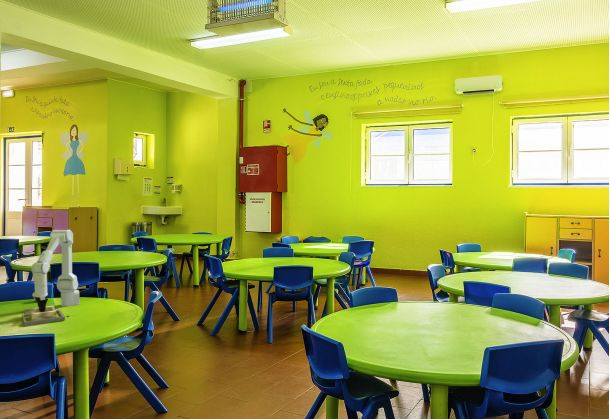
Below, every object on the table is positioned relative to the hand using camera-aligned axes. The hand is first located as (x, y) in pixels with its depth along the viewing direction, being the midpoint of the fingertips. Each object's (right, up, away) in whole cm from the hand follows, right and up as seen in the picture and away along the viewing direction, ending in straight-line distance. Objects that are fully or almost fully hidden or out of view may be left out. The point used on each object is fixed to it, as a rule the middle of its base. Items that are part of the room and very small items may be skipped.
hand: (42, 311), depth 269 cm
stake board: (-7, -3, +12) cm, 14 cm away
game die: (-21, -2, +40) cm, 45 cm away
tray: (+3, -3, -4) cm, 6 cm away
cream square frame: (+3, -2, -4) cm, 6 cm away
